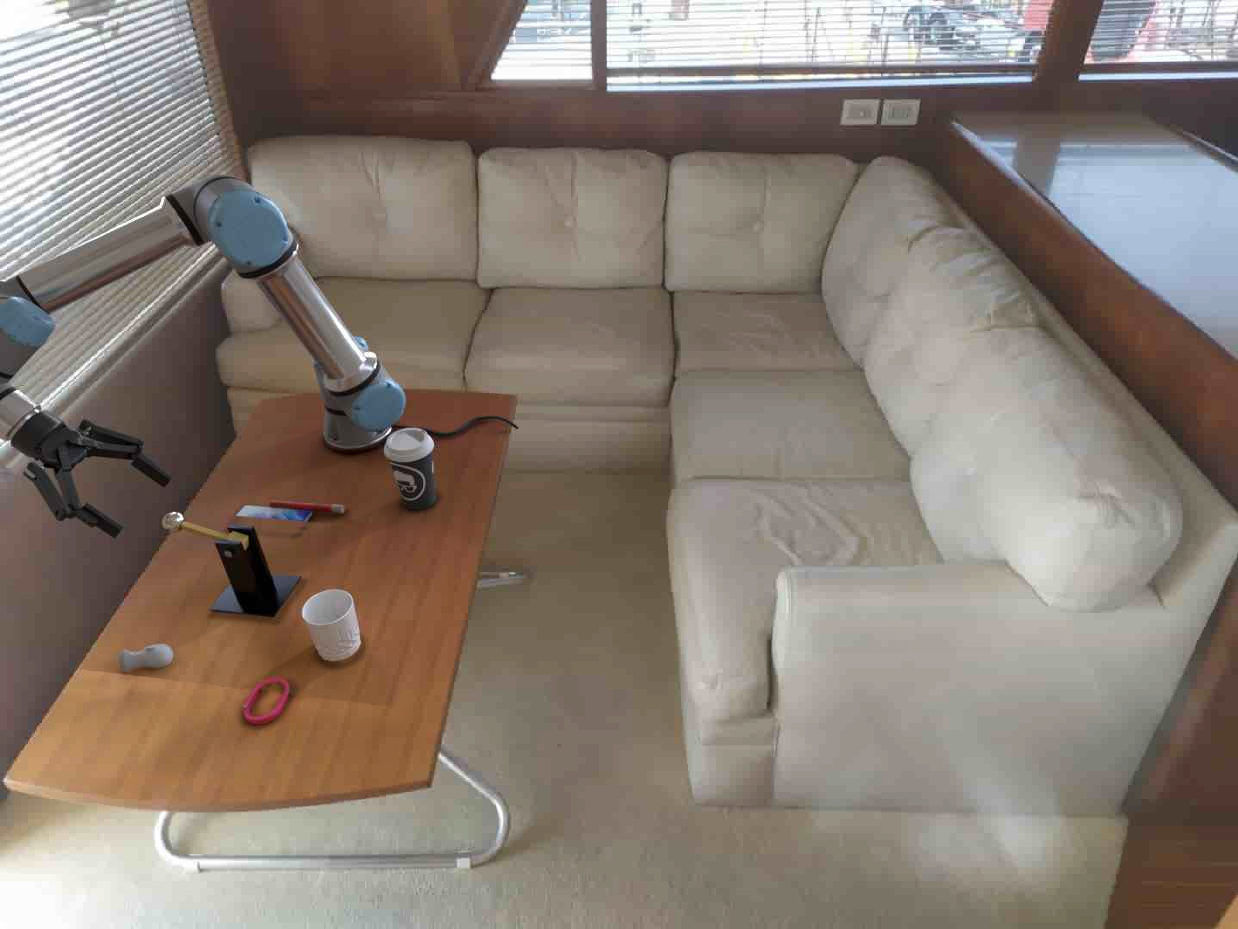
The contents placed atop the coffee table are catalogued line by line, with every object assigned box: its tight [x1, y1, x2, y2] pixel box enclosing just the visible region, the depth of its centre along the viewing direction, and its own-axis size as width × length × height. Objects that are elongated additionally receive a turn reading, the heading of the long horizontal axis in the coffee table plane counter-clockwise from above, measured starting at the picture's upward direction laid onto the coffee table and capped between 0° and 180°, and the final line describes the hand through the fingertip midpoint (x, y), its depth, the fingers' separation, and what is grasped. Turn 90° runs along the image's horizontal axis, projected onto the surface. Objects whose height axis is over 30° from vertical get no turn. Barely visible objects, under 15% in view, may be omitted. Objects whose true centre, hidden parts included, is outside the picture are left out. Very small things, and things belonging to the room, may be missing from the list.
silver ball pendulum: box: [161, 511, 249, 550], centre depth 143 cm, size 14×4×4 cm, turn 81°
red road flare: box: [269, 499, 345, 514], centre depth 171 cm, size 2×15×2 cm, turn 82°
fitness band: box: [242, 677, 292, 725], centre depth 132 cm, size 8×6×2 cm
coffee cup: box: [383, 428, 437, 511], centre depth 169 cm, size 10×10×15 cm
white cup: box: [301, 589, 362, 662], centre depth 138 cm, size 8×8×10 cm
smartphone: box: [234, 504, 313, 523], centre depth 168 cm, size 7×1×15 cm
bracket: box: [209, 523, 302, 618], centre depth 147 cm, size 12×10×15 cm
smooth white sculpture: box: [118, 643, 174, 674], centre depth 138 cm, size 4×8×5 cm
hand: (145, 507), depth 142 cm, fingers open, 13 cm apart
